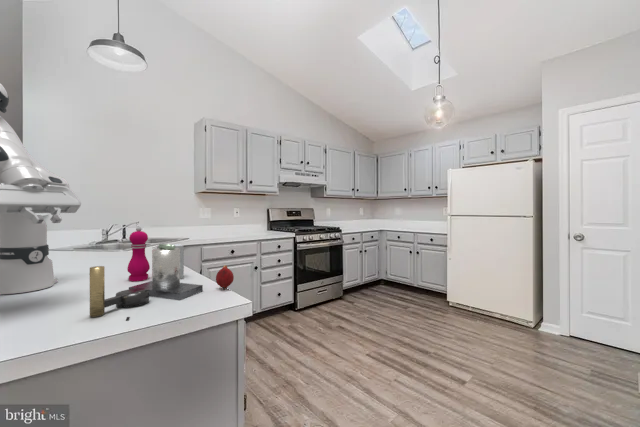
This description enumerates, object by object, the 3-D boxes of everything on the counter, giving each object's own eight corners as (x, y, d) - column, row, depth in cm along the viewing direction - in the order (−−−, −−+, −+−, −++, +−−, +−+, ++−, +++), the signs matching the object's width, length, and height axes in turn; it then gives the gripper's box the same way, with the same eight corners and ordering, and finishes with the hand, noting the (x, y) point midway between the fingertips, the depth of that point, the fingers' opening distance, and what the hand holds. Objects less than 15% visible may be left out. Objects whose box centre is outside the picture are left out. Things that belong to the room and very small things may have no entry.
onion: (230, 291, 98) (230, 267, 98) (213, 291, 98) (213, 267, 98) (235, 286, 104) (235, 263, 103) (219, 286, 104) (219, 263, 103)
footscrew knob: (79, 314, 74) (79, 267, 74) (134, 297, 89) (134, 257, 89) (102, 318, 72) (102, 269, 72) (155, 299, 87) (155, 259, 87)
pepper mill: (145, 276, 117) (145, 226, 117) (152, 279, 112) (152, 227, 112) (124, 279, 111) (124, 226, 111) (131, 283, 107) (131, 227, 106)
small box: (178, 275, 119) (178, 243, 119) (183, 278, 114) (184, 245, 114) (156, 278, 113) (156, 245, 113) (160, 282, 109) (161, 246, 108)
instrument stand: (68, 311, 77) (68, 252, 77) (154, 285, 103) (154, 241, 103) (127, 320, 71) (127, 256, 71) (202, 291, 97) (203, 244, 97)
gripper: (-25, 172, 70) (1, 214, 68) (70, 180, 90) (93, 213, 87) (-36, 191, 72) (-10, 233, 69) (60, 195, 91) (83, 227, 89)
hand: (48, 221), depth 78 cm, fingers open, 3 cm apart
